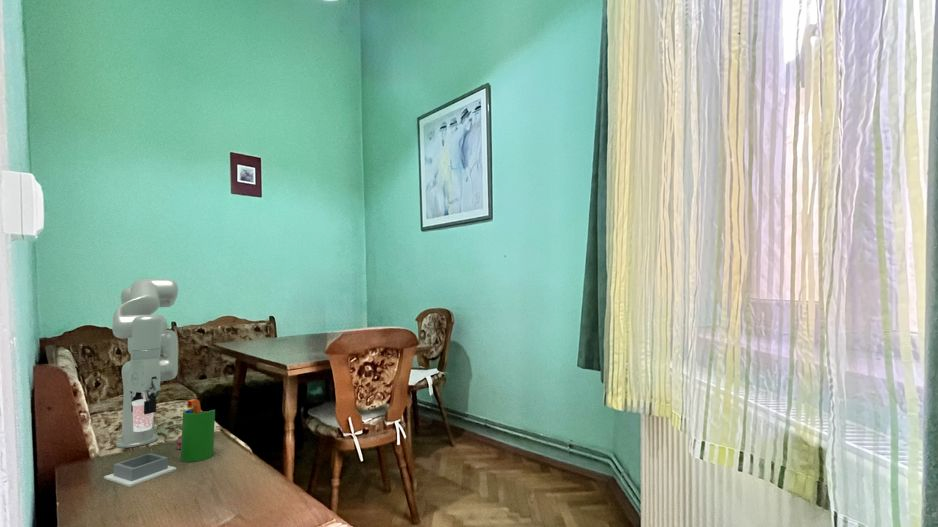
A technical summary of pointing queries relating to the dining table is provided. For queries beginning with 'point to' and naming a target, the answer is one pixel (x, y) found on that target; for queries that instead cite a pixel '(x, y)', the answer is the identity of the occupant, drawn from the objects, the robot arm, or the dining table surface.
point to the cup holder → (139, 469)
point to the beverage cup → (141, 416)
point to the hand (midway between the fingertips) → (143, 411)
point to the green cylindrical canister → (197, 433)
